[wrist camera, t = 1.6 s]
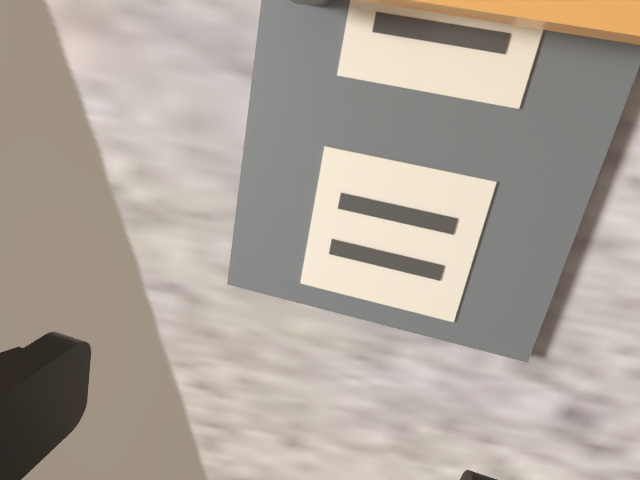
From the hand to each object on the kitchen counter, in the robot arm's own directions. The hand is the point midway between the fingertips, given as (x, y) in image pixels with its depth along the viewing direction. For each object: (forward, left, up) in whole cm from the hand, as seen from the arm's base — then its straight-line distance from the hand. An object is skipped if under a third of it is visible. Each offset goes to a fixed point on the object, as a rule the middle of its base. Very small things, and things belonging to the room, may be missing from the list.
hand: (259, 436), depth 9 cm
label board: (-2, -6, -21) cm, 22 cm away
